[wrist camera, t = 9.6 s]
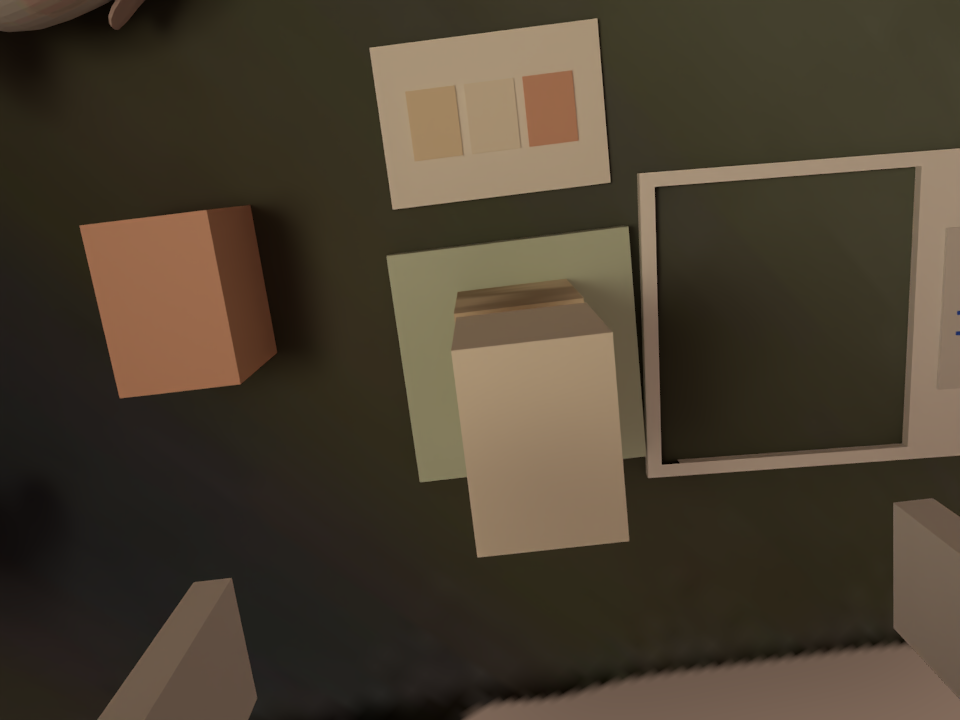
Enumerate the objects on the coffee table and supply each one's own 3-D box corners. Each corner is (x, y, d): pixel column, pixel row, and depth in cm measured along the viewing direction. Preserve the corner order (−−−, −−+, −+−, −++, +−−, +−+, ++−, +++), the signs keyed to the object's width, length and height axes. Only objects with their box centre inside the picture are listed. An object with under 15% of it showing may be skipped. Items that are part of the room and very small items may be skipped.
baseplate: (421, 474, 39) (419, 482, 38) (388, 254, 36) (386, 256, 35) (642, 449, 38) (646, 456, 38) (624, 225, 36) (628, 226, 35)
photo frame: (1019, 452, 38) (649, 479, 38) (1004, 445, 39) (644, 471, 39) (1045, 141, 35) (640, 173, 35) (1028, 143, 36) (635, 173, 36)
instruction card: (393, 209, 36) (392, 209, 36) (370, 48, 34) (368, 47, 34) (610, 182, 36) (610, 182, 35) (596, 19, 34) (597, 17, 34)
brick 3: (477, 487, 31) (477, 557, 26) (456, 317, 30) (450, 350, 24) (601, 473, 31) (629, 540, 25) (586, 302, 30) (612, 332, 24)
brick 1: (175, 364, 38) (119, 398, 32) (144, 218, 36) (79, 225, 30) (277, 352, 37) (240, 384, 32) (250, 204, 36) (206, 210, 30)
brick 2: (476, 436, 37) (476, 484, 31) (457, 291, 36) (453, 314, 30) (580, 423, 37) (599, 469, 31) (566, 278, 36) (583, 298, 30)
